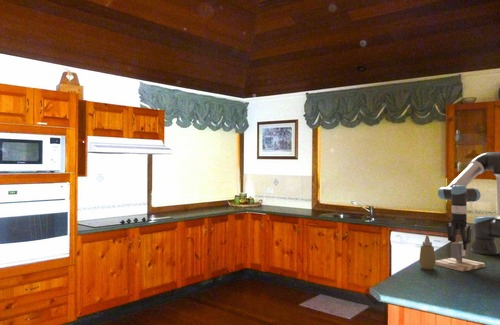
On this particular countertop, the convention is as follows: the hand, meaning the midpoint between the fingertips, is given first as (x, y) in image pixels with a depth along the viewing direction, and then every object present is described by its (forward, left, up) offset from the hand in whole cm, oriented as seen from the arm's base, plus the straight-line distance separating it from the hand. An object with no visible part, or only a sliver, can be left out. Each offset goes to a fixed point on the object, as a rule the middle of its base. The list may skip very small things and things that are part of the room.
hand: (459, 254), depth 221 cm
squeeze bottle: (+21, -5, -6) cm, 22 cm away
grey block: (0, 0, -1) cm, 1 cm away
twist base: (0, 0, -6) cm, 6 cm away
